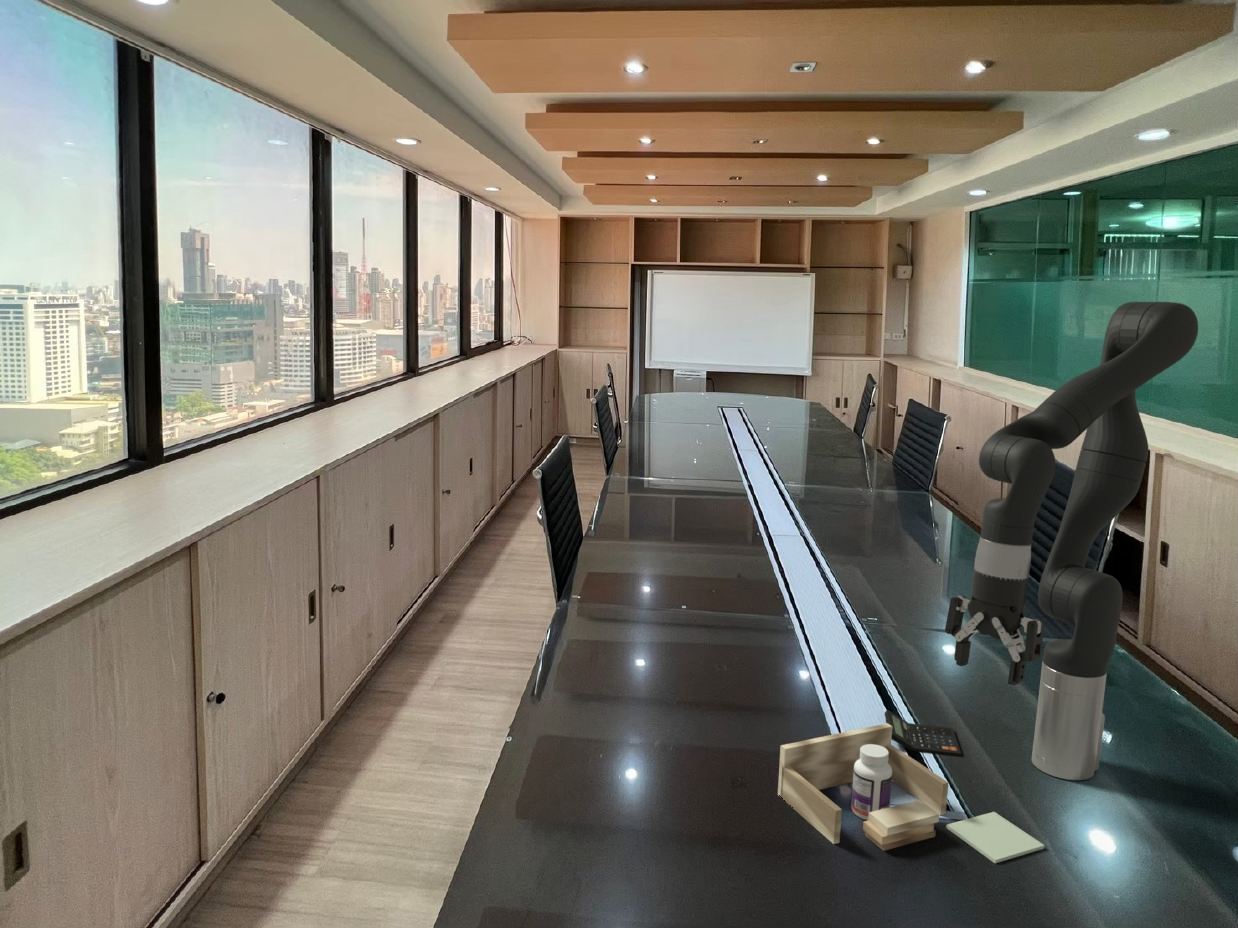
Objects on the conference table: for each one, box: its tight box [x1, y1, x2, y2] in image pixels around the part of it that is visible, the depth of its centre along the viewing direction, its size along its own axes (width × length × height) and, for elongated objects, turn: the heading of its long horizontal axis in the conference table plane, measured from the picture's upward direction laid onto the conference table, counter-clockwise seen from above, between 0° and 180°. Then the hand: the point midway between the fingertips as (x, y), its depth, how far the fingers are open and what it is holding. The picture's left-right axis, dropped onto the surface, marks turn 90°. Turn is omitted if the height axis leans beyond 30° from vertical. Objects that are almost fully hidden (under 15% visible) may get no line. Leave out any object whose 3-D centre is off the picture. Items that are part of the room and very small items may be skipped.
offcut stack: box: [862, 799, 940, 851], centre depth 129 cm, size 10×4×4 cm, turn 114°
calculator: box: [884, 709, 962, 757], centre depth 158 cm, size 9×12×3 cm
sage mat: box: [945, 811, 1045, 864], centre depth 129 cm, size 9×9×1 cm
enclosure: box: [777, 722, 950, 845], centre depth 136 cm, size 20×14×8 cm
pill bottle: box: [850, 744, 893, 821], centre depth 134 cm, size 5×5×10 cm
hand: (987, 674), depth 139 cm, fingers open, 8 cm apart
